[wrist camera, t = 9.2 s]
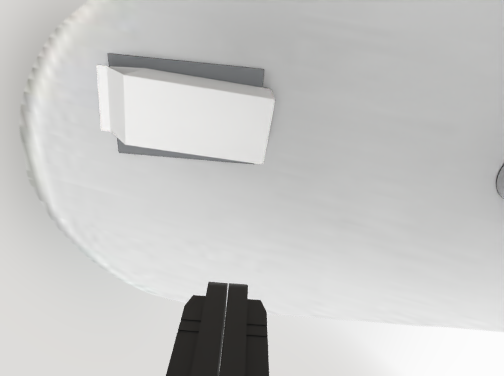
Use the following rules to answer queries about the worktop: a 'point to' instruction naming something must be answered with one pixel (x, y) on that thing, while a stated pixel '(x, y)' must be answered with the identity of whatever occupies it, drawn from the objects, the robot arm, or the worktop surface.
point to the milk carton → (185, 113)
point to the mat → (193, 69)
